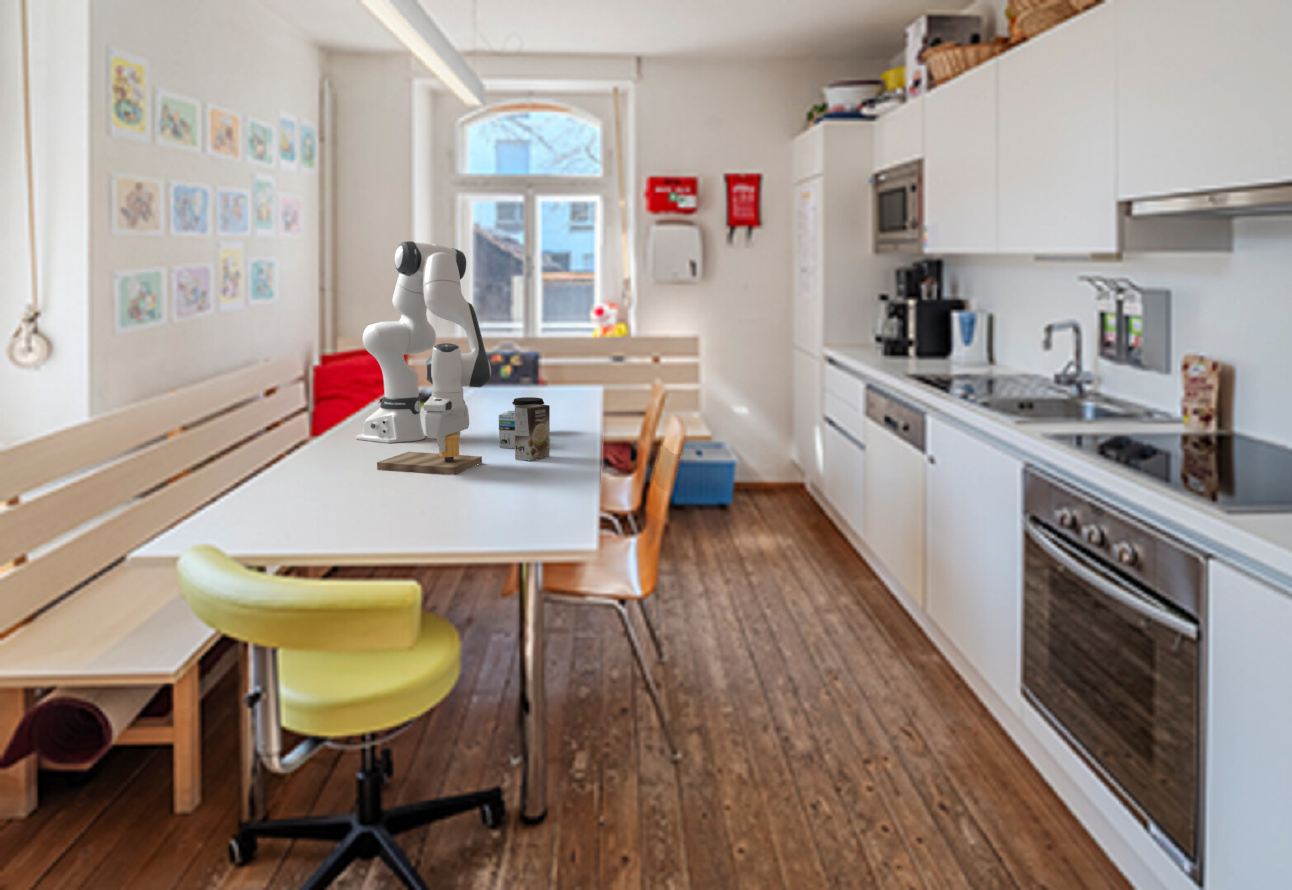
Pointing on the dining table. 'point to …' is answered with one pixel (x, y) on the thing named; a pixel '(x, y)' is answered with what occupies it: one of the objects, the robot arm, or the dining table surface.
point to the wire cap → (451, 446)
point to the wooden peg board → (429, 463)
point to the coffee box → (532, 432)
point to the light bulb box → (507, 430)
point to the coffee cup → (527, 401)
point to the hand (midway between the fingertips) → (448, 449)
